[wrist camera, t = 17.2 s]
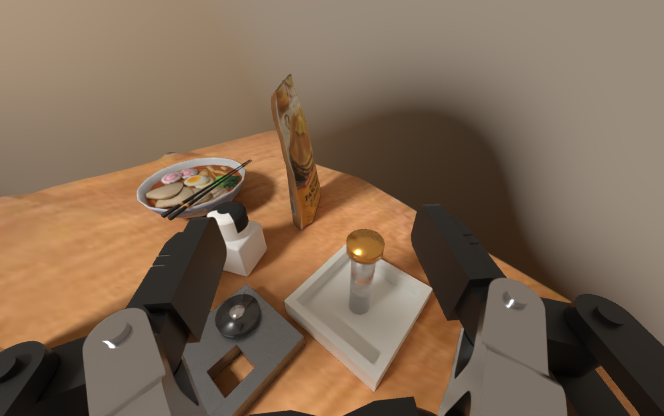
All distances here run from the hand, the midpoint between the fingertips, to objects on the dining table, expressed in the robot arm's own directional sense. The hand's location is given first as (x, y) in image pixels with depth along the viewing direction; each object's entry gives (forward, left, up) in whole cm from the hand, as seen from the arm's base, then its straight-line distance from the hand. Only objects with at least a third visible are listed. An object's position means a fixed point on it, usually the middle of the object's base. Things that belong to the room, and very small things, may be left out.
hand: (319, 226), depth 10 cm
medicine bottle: (-29, +8, -30) cm, 42 cm away
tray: (-6, +14, -30) cm, 33 cm away
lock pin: (-6, +14, -29) cm, 33 cm away
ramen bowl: (-51, +12, -30) cm, 60 cm away
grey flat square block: (-15, -2, -30) cm, 33 cm away
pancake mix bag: (-31, +27, -30) cm, 51 cm away
